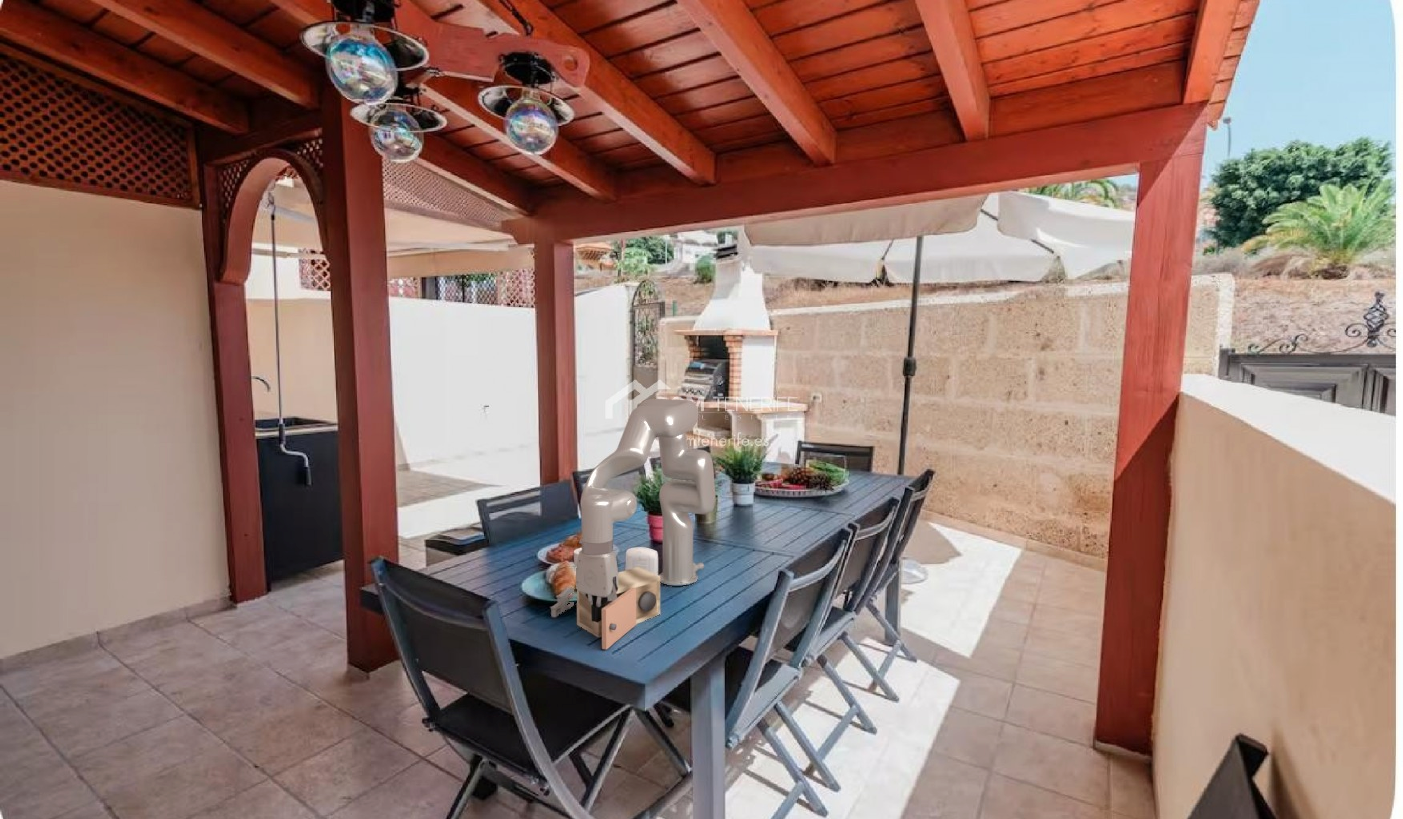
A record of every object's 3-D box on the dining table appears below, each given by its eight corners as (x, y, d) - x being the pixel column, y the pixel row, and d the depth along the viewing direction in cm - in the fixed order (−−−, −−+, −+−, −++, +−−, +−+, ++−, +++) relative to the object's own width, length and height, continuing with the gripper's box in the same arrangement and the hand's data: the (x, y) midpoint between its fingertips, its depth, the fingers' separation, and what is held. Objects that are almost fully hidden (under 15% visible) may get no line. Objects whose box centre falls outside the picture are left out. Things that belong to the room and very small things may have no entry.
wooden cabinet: (638, 604, 178) (637, 566, 177) (663, 616, 170) (663, 577, 169) (577, 625, 165) (576, 584, 164) (601, 639, 156) (601, 596, 155)
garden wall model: (555, 618, 169) (555, 597, 168) (549, 617, 169) (549, 596, 169) (579, 602, 180) (579, 582, 179) (574, 601, 181) (574, 581, 180)
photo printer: (659, 586, 193) (659, 546, 192) (656, 591, 188) (655, 551, 187) (627, 583, 195) (627, 544, 194) (623, 588, 191) (623, 548, 189)
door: (632, 624, 164) (631, 587, 163) (640, 625, 163) (640, 588, 162) (602, 648, 150) (601, 609, 149) (610, 650, 149) (610, 610, 148)
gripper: (563, 546, 152) (564, 619, 154) (612, 555, 145) (613, 632, 146) (583, 538, 159) (584, 608, 160) (631, 547, 151) (632, 621, 153)
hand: (598, 619), depth 153 cm, fingers closed
